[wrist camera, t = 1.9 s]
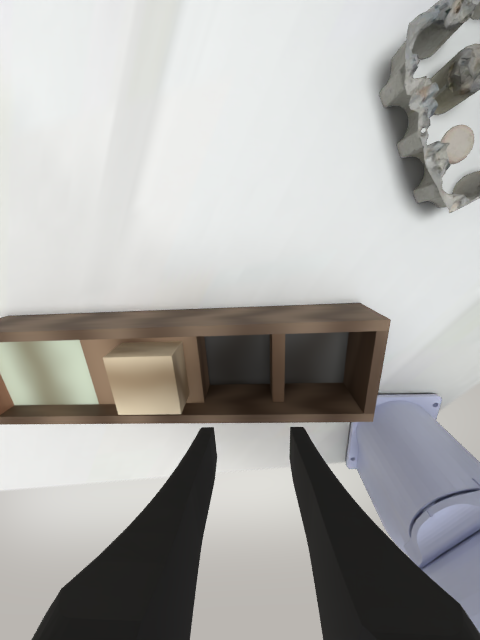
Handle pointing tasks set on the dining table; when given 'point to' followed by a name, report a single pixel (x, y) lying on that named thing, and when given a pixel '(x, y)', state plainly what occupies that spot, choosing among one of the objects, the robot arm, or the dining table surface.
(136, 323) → the brown wooden long box
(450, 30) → the egg carton
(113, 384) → the beech block
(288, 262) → the dining table surface
